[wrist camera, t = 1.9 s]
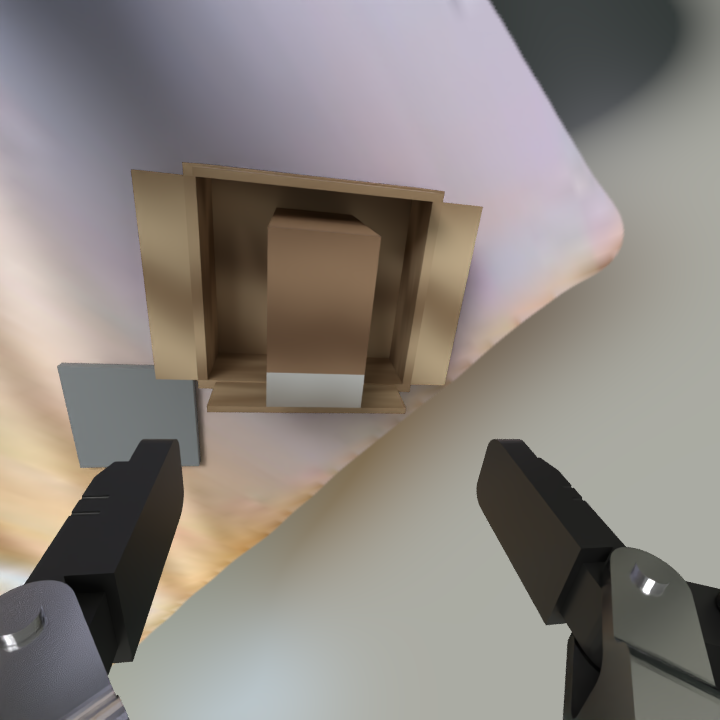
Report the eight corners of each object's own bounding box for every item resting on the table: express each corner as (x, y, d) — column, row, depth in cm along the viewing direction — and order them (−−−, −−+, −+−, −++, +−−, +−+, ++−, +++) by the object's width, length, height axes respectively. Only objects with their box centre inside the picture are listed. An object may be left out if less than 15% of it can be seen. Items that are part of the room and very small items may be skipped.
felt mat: (61, 362, 29) (57, 366, 28) (193, 366, 31) (191, 369, 30) (83, 462, 33) (80, 467, 32) (200, 461, 34) (199, 465, 34)
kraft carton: (158, 158, 25) (104, 154, 17) (454, 191, 28) (509, 199, 21) (177, 355, 30) (140, 413, 23) (422, 362, 33) (457, 415, 26)
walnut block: (276, 207, 26) (267, 227, 17) (352, 214, 27) (381, 236, 18) (274, 335, 30) (266, 406, 21) (341, 338, 31) (360, 407, 22)
